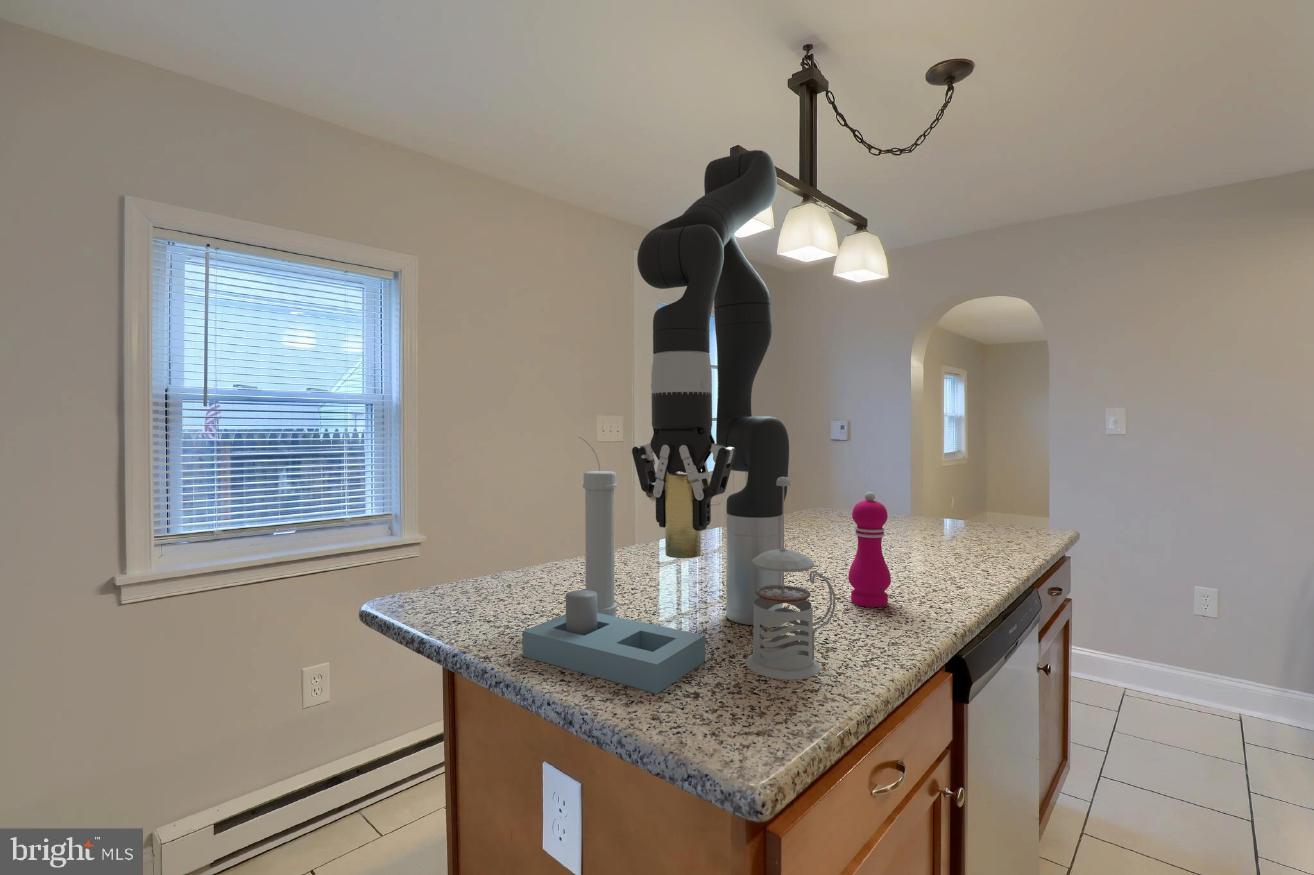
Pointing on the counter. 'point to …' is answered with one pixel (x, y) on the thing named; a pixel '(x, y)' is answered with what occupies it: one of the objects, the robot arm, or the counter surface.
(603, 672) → the jig
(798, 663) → the french press
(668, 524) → the gold cylinder
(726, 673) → the counter surface
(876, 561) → the pepper mill
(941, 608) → the counter surface
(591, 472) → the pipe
